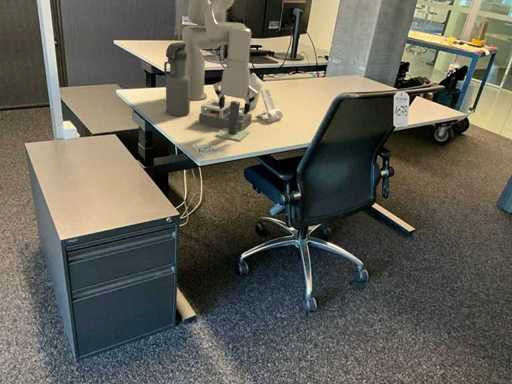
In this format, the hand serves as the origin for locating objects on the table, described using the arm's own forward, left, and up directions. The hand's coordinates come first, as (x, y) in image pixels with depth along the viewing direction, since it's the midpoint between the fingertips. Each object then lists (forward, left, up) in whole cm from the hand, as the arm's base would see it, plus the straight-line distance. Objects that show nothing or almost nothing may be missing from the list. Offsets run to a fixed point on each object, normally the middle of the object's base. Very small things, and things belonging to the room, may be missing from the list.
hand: (233, 110), depth 158 cm
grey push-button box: (-7, +10, -9) cm, 15 cm away
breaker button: (-11, +10, -9) cm, 17 cm away
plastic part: (+7, +26, -10) cm, 29 cm away
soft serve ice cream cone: (-5, +37, -10) cm, 38 cm away
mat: (0, 0, -9) cm, 9 cm away
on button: (-2, +10, -5) cm, 11 cm away
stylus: (0, 0, -9) cm, 9 cm away
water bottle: (-29, +11, -10) cm, 32 cm away
